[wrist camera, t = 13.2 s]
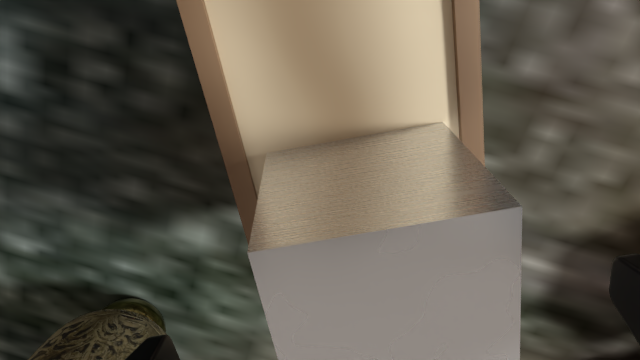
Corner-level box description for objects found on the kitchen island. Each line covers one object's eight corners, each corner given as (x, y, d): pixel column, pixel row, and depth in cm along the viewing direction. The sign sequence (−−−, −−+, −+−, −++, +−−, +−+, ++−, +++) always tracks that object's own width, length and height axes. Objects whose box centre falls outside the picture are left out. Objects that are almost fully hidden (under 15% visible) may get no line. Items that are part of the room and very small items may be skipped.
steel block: (443, 121, 13) (522, 206, 8) (452, 268, 15) (519, 400, 10) (266, 153, 13) (247, 252, 8) (300, 292, 15) (299, 433, 10)
